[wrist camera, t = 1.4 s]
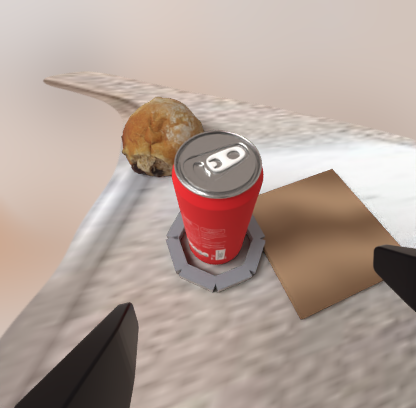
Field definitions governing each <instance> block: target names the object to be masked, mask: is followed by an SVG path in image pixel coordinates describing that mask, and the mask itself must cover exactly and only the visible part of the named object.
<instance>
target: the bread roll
mask: <svg viewBox="0 0 416 408" xmlns="http://www.w3.org/2000/svg"><path fill="white" fill-rule="evenodd" d="M203 132H204V131H203V127H202V124H201V122H200V121H199V120H198V119H197V118H196V117H195V116H194V114H193V113H192V112H191V111H190V110H189V109H188V107H187V106H186V105H184V104H183V103H181V102H180V101H177V100H174V99H171V98H162V97H155V98H154V99H153V100H151V101H150V102H148V103H145V104H144V105H142V106H141V107H139V108H138V109H137V110H136V111H135V112H134V113H133V114H132V115H131V116H130V118H129V120H128V122H127V123H126V125H125V128H124V130H123V136H122V141H123V151H122V153H123V154H124V155H126V158H127V159H128V161H129V163H130V165H132V167H131V168H132V169H133V170H134V172H136V173H138V174H141V173H142V174H143V173H145V174H147V175H149V176H157V177H159V176H171V175H172V169H173V165H174V159H175V155H176V153H177V151H178V149H179V148H180V146H181V145H182V144H183V143H184V142H185V141H187V140H188V139H189V138H191V137H193V136H195V135H197V134H200V133H203ZM151 171H152V172H151Z"/></svg>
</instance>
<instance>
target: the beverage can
mask: <svg viewBox="0 0 416 408" xmlns="http://www.w3.org/2000/svg"><path fill="white" fill-rule="evenodd" d="M172 180H173V184H174V188H175V192H176V196H177V200H178V204H179V208H180V211H181V215H182V219H183V223H184V227H185V231H186V235H187V238H188V242H189V246H190V249H191V251H192V252H193V254H194V255H195V256H196V257H197V258H198V259H200V260H201V261H203V262H205V263H208V264H214V265H218V264H223V263H226V262H229V261H230V260H232V259H233V258H234V257H235V256H236V255H237V254H238V253H239V251H240V249H241V247H242V244H243V241H244V238H245V235H246V231H247V228H248V225H249V222H250V219H251V216H252V213H253V210H254V207H255V204H256V201H257V198H258V195H259V192H260V189H261V186H262V182H263V168H262V160H261V156H260V154H259V151H258V150H257V148H256V147H255V146H254V145H253V144H252V143H251V142H250V141H249V140H248V139H246V138H244V137H243V136H241V135H238V134H236V133H233V132H228V131H222V130H215V131H207V132H203V133H200V134H197V135H195V136H193V137H191V138H189V139H188V140H187V141H185V142H184V143H183V144H182V145H181V146H180V148H179V149H178V151H177V153H176V155H175V159H174V165H173V169H172Z"/></svg>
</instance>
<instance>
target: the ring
mask: <svg viewBox="0 0 416 408" xmlns="http://www.w3.org/2000/svg"><path fill="white" fill-rule="evenodd" d="M184 232H185V227H184V223H183V219H182V215H181V211H180V212H179V214H178V216H177V217H176V219H175V221H174V223H173V224H172V226H171V228H170V230H169V231H168V233H167V235H166V236H167V238H168V239H166V242H167V245H168V248H169V252H170V255H171V258H172V261H173V264H174V268H175V271H176V273H177V274H179V273H180V274H179V276H180V278H182V279H184V280H187V281H189V282H191V283H193V284H195V285H197V286H200V287H202V288H204V289H206V290H208V291H211V292H213V291H214V288H215V287H216V289H217V292H220V291H223V290H225V289H227V288H230V287H232V286H234V285H237V284H239V283H242V282H244V281H246V280H249V279H251V277H252V275H254V274H255V272H256V269H257V266H258V263H259V260H260V257H261V254H262V251H263V247H264V244H265V240H263V238H264V237H265V235H264V233H263V232H262V230H261V228H260V226H259V225H258V223H257V221H256V219H255V217H254V216H253V214H252V216H251V219H250V222H249V225H248V228H247V231H246V233H247V235H248V237H249V239H250V241H251V244H250V247H249V250H248V252H247V255H246V258H245V261H244V264H243V265H241V266H239V267H236V268H234V269H231V270H229V271H227V272H224V273H222V274H219V275H217V276H214V275H212V274H210V273H207V272H205V271H203V270H200V269H198V268H196V267H194V266H191V265H189V264H187V261H186V258H185V255H184V252H183V249H182V246H181V243H180V240H181V238H182V236H183V234H184ZM251 274H252V275H251Z"/></svg>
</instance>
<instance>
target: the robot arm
mask: <svg viewBox="0 0 416 408" xmlns="http://www.w3.org/2000/svg"><path fill="white" fill-rule="evenodd" d="M373 268H374V271H375V272H376V273H377V275H378V276H379V277H380V278H381V279H382V280H383V281H384V282H385V283H386V284H387V285H388V286H389V287H390V288H391V289H392V290H393V291H394V292H395V293H396V294H397V295H398V296H399V297H400V298H401V299H402V300H403V301H404V302H405V303H407V304H408V305H409V306H410V307H411V308H412V309H413V310H414V311H415V312H416V249H414V248H407V247H401V246H394V245H387V244H386V245H381V246H377V247H375V248H374V253H373ZM137 342H138V321H137V317H136V314H135V311H134V307H133V305H132V303H130V302H129V303H124V304H120V305H118V306H117V307H116V308H115V309H114V310H113V311H112V312H111V313H110V314H109V315H108V316H107V317H106V318H105V319H104V320H102V321H101V322H100V323H99V324H98V325H97V326H96V327H95V328H94V329H93V330H92V331H91V332H90V333H89V334H88V335H87V336H86V337H85V338H84V339H83V340H82V341H81V342H80V343H79V344H78V345H77V346H76V347H75V348H74V349H73V350H72V351H71V352H70V353H69V354H68V355H67V356H66V357H65V358H64V359H63V360H62V361H61V362H59V363H58V364H57V365H56V366H55V367H54V368H53V369H52V370H51V371H50V372H49V373H48V374H47V375H46V376H45V377H44V378H43V379H42V380H41V381H40V382H39V383H38V384H37V385H36V386H35V387H34V388H33V389H32V390H31V391H30V392H29V393H28V394H27V395H26V396H25V397H24V398H23V399H22V400H21V401H20V402H18V403H17V404H16V405H15V407H14V408H130V403H131V397H132V391H133V385H134V379H135V368H136V355H137Z"/></svg>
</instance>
